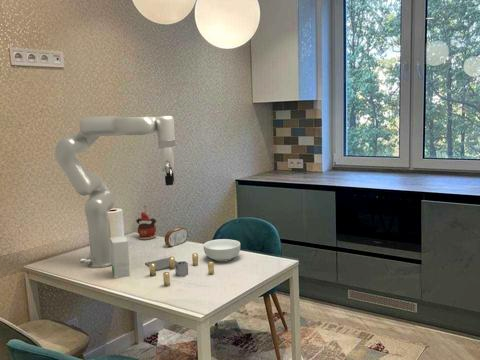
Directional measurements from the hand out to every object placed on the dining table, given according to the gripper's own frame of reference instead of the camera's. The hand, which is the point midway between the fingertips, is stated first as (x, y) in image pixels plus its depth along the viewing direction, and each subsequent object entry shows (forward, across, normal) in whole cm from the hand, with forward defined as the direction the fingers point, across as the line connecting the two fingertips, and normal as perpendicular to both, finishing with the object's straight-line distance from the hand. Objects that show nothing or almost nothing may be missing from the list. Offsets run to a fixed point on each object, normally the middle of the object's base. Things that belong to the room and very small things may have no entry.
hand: (170, 183), depth 205 cm
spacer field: (+36, +16, +2) cm, 39 cm away
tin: (+36, -28, 0) cm, 46 cm away
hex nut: (+36, +17, +3) cm, 40 cm away
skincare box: (+36, +11, -23) cm, 44 cm away
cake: (+36, -45, -17) cm, 60 cm away
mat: (+36, +3, -6) cm, 36 cm away
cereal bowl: (+36, 0, +21) cm, 42 cm away
